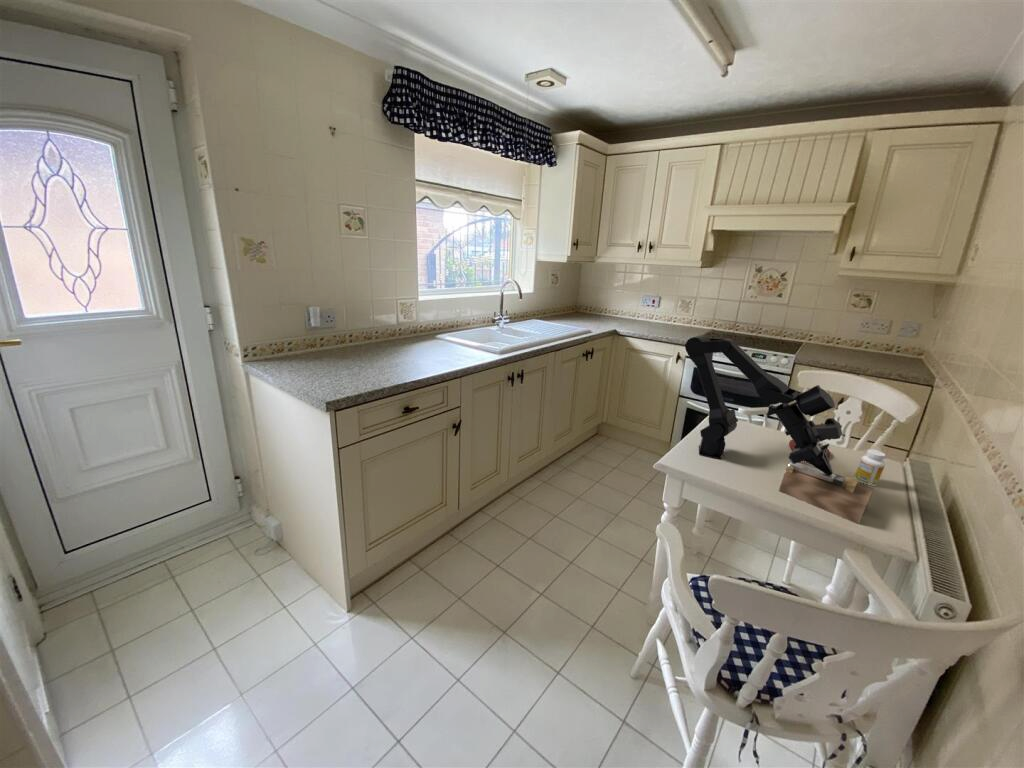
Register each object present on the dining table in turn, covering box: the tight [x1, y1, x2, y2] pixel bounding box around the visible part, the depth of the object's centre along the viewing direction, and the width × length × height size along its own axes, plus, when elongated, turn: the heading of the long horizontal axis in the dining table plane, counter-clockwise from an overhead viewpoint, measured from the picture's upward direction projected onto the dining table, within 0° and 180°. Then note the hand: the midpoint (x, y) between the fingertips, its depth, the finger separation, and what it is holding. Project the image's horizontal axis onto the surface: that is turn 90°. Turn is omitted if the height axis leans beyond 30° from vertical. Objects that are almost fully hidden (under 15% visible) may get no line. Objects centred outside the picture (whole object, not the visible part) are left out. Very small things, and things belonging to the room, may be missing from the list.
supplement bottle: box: [854, 448, 886, 486], centre depth 123 cm, size 5×5×10 cm
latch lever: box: [786, 461, 846, 486], centre depth 115 cm, size 13×4×1 cm, turn 43°
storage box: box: [778, 461, 875, 525], centre depth 113 cm, size 18×12×8 cm, turn 43°
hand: (830, 474), depth 112 cm, fingers closed, pressing on latch lever
